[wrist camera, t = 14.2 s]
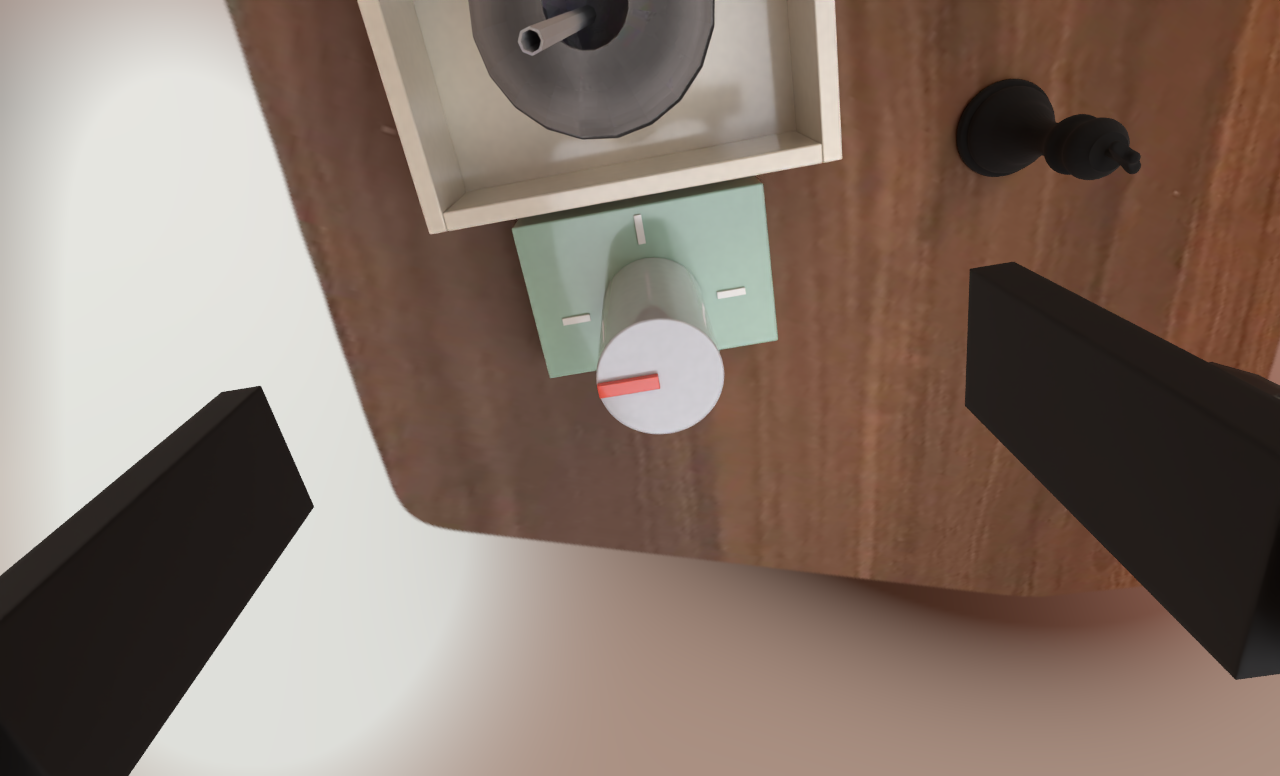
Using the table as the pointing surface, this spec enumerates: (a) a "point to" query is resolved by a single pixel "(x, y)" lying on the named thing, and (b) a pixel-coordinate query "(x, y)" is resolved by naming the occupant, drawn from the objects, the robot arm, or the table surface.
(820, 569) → the table surface
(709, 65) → the cream open storage tray
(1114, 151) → the chess piece
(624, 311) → the tap knob
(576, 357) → the green dial base plate
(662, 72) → the beverage cup
